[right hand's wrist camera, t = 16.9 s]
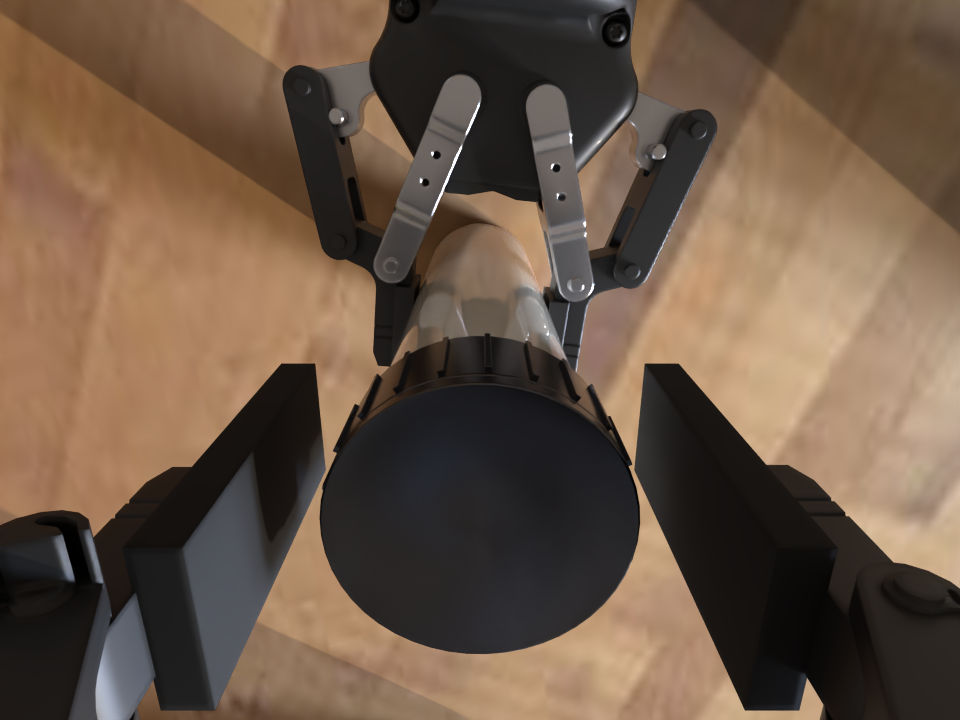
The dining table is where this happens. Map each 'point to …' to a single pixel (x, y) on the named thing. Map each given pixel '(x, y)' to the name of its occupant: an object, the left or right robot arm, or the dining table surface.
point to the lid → (480, 498)
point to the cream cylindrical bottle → (479, 294)
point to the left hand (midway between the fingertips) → (472, 380)
